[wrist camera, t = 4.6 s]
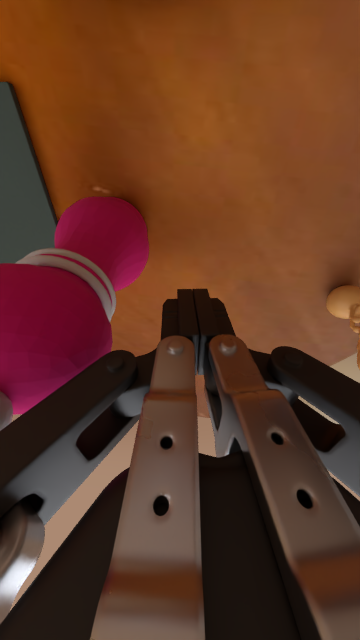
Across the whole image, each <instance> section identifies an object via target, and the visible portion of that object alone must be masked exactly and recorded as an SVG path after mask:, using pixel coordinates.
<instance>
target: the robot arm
mask: <svg viewBox="0 0 360 640" xmlns="http://www.w3.org/2000/svg"><path fill="white" fill-rule="evenodd" d="M197 371H198V375H204V379H205V385H204V392H205V397H206V401H207V405H208V409H209V414H210V418H211V422H212V427H213V431H214V436H215V450H216V457H212V456H209V455H205V454H201V453H198V425H197V424H198V423H197V422H198V421H197V396H196V392H195V375H196V374H197ZM298 396H301V397H302V398H303V399H305V400H306V401H308V402H309V403H310V404H312V405H313V406H315V407H316V408H318V409H319V410H321V411H322V412H324V413H325V414H326V415H328V416H329V417H331V418H332V419H334V420H335V421H337V422H338V423H339V424H335V423H333V422H331V421H329V420H328V419H326V418H325V417H323V416H322V415H320V414H319V413H318V412H316V411H315V410H313V409H312V408H310V407H309V406H308V405H306V404H305V403H303V402H302V401H301V400H299V399H298ZM138 420H139V423H138V429H137V434H136V438H135V444H134V449H133V454H132V459H131V464H130V467H129V468H127V469H126V470H124V471H123V472H121V473H120V474H119V475H118V476H117V477H115V478H114V479H113V480H112V481H111V482H110V483H109V484H108V486H107V487H105V489H104V490H103V491H102V493H101V494H100V495H99V496H98V497H97V499H96V500H95V501H94V503H93V504H92V505H91V507H90V508H89V509H88V511H87V512H86V513H85V514H84V516H83V517H82V518H81V520H80V521H79V522H78V524H77V525H76V526H75V527H74V529H73V530H72V531H71V533H70V534H69V535H68V537H67V538H66V539H65V541H64V542H63V543H62V544H61V546H60V547H59V548H58V550H57V551H56V552H55V554H54V555H53V556H52V557H51V559H50V560H49V561H48V563H47V564H46V565H45V567H44V568H43V569H42V570H41V572H40V573H39V574H38V576H37V577H36V578H35V580H34V581H33V582H32V584H31V585H30V586H29V587H28V589H27V590H26V591H25V593H24V594H23V595H22V597H21V598H20V599H19V600H18V602H17V603H16V604H15V606H14V607H13V608H12V610H11V611H10V608H11V606H12V603H13V601H14V599H15V597H16V594H17V592H18V591H19V589H20V587H21V585H22V584H23V582H24V581H25V579H26V578H27V577H28V575H29V574H30V572H31V571H32V569H33V568H34V566H35V564H36V562H37V560H38V558H39V555H40V553H41V550H42V547H43V543H44V536H45V531H44V530H45V528H44V525H45V524H46V523H47V522H48V521H49V520H50V519H51V517H52V516H53V515H54V514H55V513H56V512H57V511H58V510H59V508H60V507H61V506H62V505H63V504H64V503H65V502H66V501H67V499H68V498H69V497H70V496H71V495H72V494H73V493H74V492H75V491H76V489H77V488H78V487H79V486H80V485H81V484H82V483H83V482H84V480H85V479H86V478H87V477H88V476H89V475H90V474H91V472H92V471H93V470H94V469H95V468H96V467H97V466H98V464H100V463H101V461H102V460H103V459H104V458H105V457H106V456H107V455H108V454H109V452H110V451H111V450H112V449H113V448H114V447H115V446H116V444H117V443H118V442H119V441H120V440H121V439H122V438H123V437H124V436H125V435H126V433H127V432H128V431H129V430H130V429H131V428H132V427H133V426H134V424H135V423H136V422H137V421H138ZM327 470H328V471H330V472H331V473H332V474H333V475H334V476H336V477H337V478H338V479H339V480H340V481H342V482H343V483H344V484H345V485H346V486H348V487H349V488H350V489H351V490H352V491H354V492H355V493H356V494H357V495H358V496H360V383H358V382H356V381H354V380H353V379H351V378H349V377H347V376H345V375H343V374H342V373H340V372H338V371H336V370H334V369H333V368H331V367H329V366H327V365H326V364H324V363H322V362H320V361H318V360H317V359H315V358H313V357H311V356H309V355H308V354H306V353H304V352H302V351H300V350H298V349H296V348H292V347H287V346H281V347H277V348H275V349H274V350H273V351H272V353H271V354H266V353H262V352H257V351H253V350H251V349H248V348H247V346H246V344H245V343H244V342H243V341H242V340H241V339H239V338H238V337H236V335H235V333H234V330H233V327H232V325H231V322H230V319H229V317H228V314H227V311H226V309H225V306H224V304H223V303H222V302H221V301H220V300H219V299H218V298H210V297H209V293H208V290H207V289H177V299H167V300H166V302H165V303H164V304H163V311H162V328H161V341H160V342H159V344H158V346H157V348H156V349H155V350H153V351H152V352H150V353H148V354H145V355H141V356H138V357H135V356H134V355H133V354H132V353H131V352H129V351H125V350H116V351H112V352H109V353H107V354H105V355H104V356H102V357H101V358H99V359H98V360H97V361H95V362H94V363H92V364H91V365H90V366H88V367H87V368H86V369H84V370H83V371H81V372H80V373H79V374H77V375H76V376H75V377H73V378H72V379H71V380H69V381H68V382H66V383H65V384H64V385H62V386H61V387H60V388H58V389H57V390H55V391H54V392H53V393H51V394H50V395H49V396H47V397H46V398H44V399H43V400H42V401H40V402H39V403H38V404H36V405H35V406H33V407H32V408H31V409H29V410H28V411H27V412H25V413H24V414H22V415H21V416H20V417H18V418H17V419H16V420H15V421H13V422H11V423H10V424H9V425H7V426H6V427H5V428H3V429H2V430H1V431H0V640H360V501H359V500H358V499H357V498H355V497H354V496H353V495H352V494H351V493H350V492H349V491H348V490H346V489H345V488H344V487H343V486H342V485H341V484H340V483H338V482H337V481H336V480H335V479H334V478H332V477H331V476H330V474H329V472H328V471H327ZM9 611H10V612H9Z"/></svg>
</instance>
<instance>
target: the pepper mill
mask: <svg viewBox="0 0 360 640" xmlns="http://www.w3.org/2000/svg"><path fill="white" fill-rule="evenodd" d="M54 242H55V248H47V249H40V250H36V251H34V252H31V253H30V254H28V255H27V256H25V257H24V258H23V259H21V260H19V261H17V262H16V263H15V264H13V263H1V264H0V431H1V430H2V429H3V428H5V427H6V426H7V425H9V424H10V423H11V421H12V416H13V414H24V413H25V412H27V411H28V410H29V409H31V408H32V407H33V406H35V405H36V404H38V403H39V402H40V401H42V400H43V399H44V398H46V397H47V396H49V395H50V394H51V393H53V392H54V391H55V390H57V389H58V388H60V387H61V386H62V385H64V384H65V383H66V382H68V381H69V380H71V379H72V378H73V377H75V376H76V375H77V374H79V373H80V372H81V371H83V370H84V369H86V368H87V367H88V366H90V365H91V364H92V363H94V362H95V361H97V360H98V359H99V358H101V357H102V356H104V355H105V354H107V353H109V352H111V347H112V331H111V324H110V321H111V318H112V315H113V313H114V311H115V306H116V295H115V291H118V290H120V289H123V288H125V287H127V286H128V285H130V284H131V283H132V282H133V281H135V280H136V279H137V278H138V277H139V275H140V274H141V272H142V271H143V269H144V267H145V265H146V263H147V259H148V255H149V243H148V238H147V228H146V224H145V222H144V219H143V217H142V216H141V214H140V213H139V211H138V210H137V209H136V208H135V207H134V206H133V205H131V204H130V203H128V202H127V201H124V200H122V199H120V198H116V197H88V198H84V199H81V200H79V201H77V202H76V203H74V204H73V205H71V206H70V207H69V208H68V209H66V210H65V212H64V213H63V214H62V215H61V217H60V219H59V221H58V224H57V227H56V231H55V238H54Z"/></svg>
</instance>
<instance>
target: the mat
mask: <svg viewBox="0 0 360 640" xmlns="http://www.w3.org/2000/svg"><path fill="white" fill-rule="evenodd" d="M57 224H58V221H57V218H56V215H55V212H54V209H53V206H52V203H51V200H50V197H49V194H48V191H47V188H46V185H45V182H44V179H43V176H42V173H41V170H40V167H39V164H38V161H37V158H36V155H35V151H34V148H33V145H32V142H31V139H30V136H29V133H28V130H27V127H26V124H25V121H24V118H23V115H22V112H21V109H20V106H19V103H18V100H17V97H16V94H15V91H14V88H13V85H12V84H11V83H8V82H0V264H1V263H13V264H15V263H16V262H17V261H19V260H21V259H23V258H24V257H25V256H27V255H28V254H30V253H31V252H34V251H36V250H40V249H47V248H55V242H54V238H55V231H56V227H57Z"/></svg>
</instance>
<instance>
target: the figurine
mask: <svg viewBox="0 0 360 640" xmlns="http://www.w3.org/2000/svg"><path fill="white" fill-rule="evenodd" d="M326 306H327V309H328V310H329V312H330V313H331V314H333V315H334V316H336V317H339V318H344V319H349V318H350V327H351V328H352V329H353V331H354V332H356V333H359V337H360V327H358V326H355V323H360V288H359V287H357V286H353V285H345V286H340V287H338V288H336V289H334V290H333V291H332V292H331V293H330V294H329V295H328V297H327V300H326ZM357 350H358V354H357V364H358V367H359V369H360V339H359V340H358V345H357Z"/></svg>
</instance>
